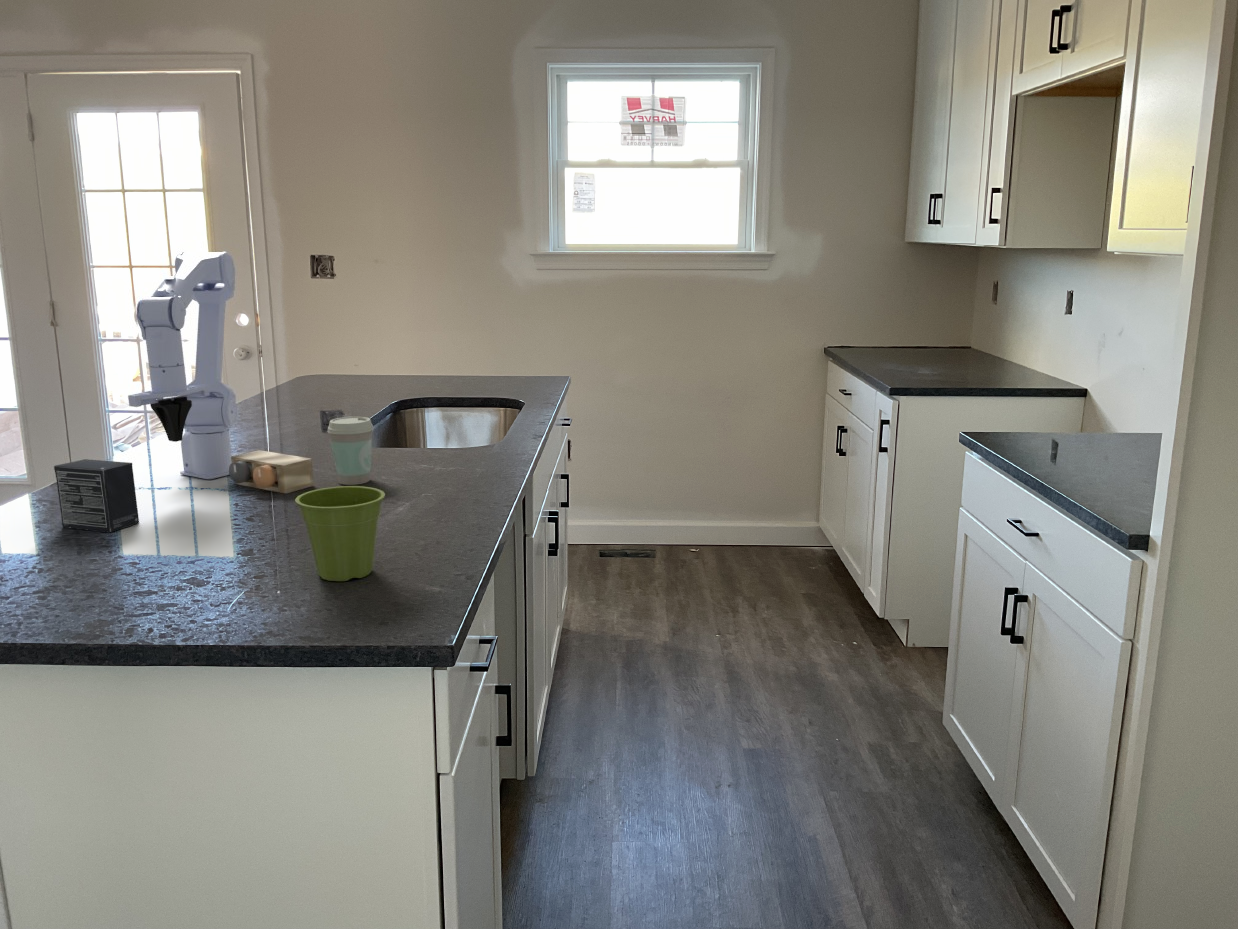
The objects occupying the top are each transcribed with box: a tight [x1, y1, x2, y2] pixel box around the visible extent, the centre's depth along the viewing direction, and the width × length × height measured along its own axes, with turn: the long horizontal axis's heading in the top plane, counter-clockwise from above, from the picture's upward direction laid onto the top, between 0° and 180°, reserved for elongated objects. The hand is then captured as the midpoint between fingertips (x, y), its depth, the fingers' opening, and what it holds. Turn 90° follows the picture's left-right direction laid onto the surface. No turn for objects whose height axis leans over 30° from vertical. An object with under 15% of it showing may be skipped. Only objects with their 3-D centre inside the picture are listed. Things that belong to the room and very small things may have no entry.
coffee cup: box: [327, 416, 375, 486], centre depth 185 cm, size 8×8×12 cm
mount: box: [231, 449, 314, 494], centre depth 184 cm, size 15×6×5 cm, turn 58°
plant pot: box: [294, 485, 386, 582], centre depth 134 cm, size 12×12×11 cm
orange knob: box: [253, 465, 278, 489], centre depth 180 cm, size 7×4×4 cm, turn 148°
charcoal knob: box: [228, 461, 253, 483], centre depth 184 cm, size 7×4×4 cm, turn 148°
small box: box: [53, 458, 140, 533], centre depth 158 cm, size 11×6×10 cm, turn 71°
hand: (175, 440), depth 174 cm, fingers closed
